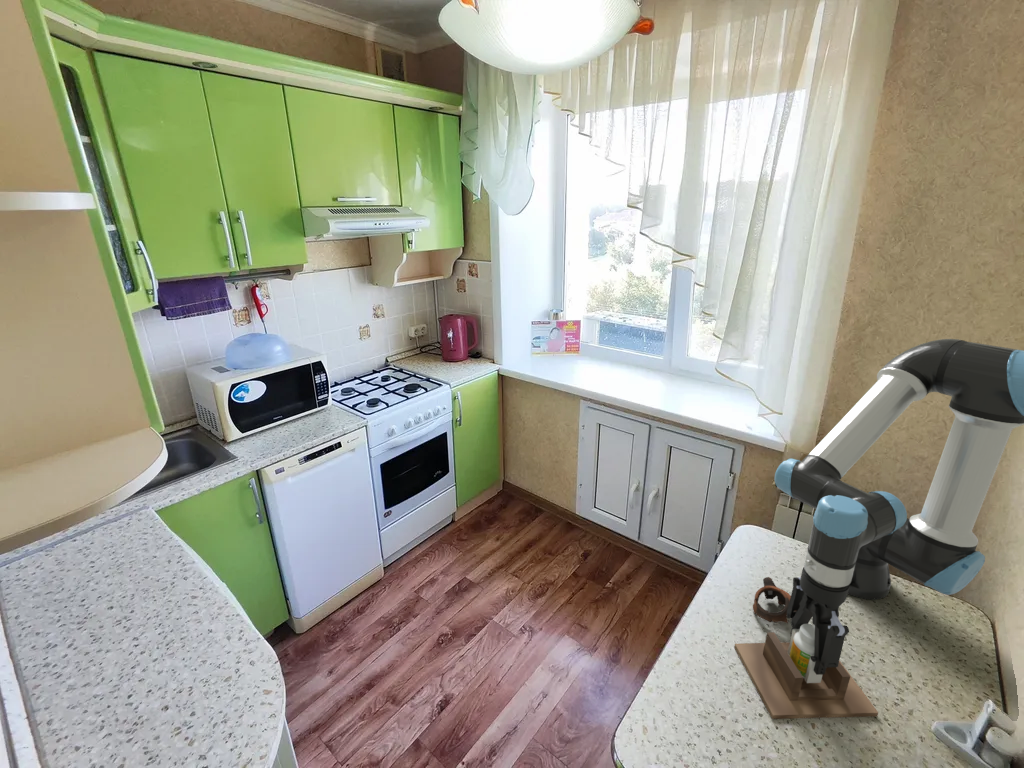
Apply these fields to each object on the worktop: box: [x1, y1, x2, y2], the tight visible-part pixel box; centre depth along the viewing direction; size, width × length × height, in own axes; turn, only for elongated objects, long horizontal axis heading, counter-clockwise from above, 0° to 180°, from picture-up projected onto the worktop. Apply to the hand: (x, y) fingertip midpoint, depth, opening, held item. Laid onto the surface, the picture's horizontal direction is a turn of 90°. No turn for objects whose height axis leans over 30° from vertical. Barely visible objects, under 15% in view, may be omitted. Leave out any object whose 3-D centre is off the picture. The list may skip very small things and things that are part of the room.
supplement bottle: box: [789, 623, 815, 679], centre depth 96 cm, size 5×5×10 cm
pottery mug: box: [752, 576, 796, 624], centre depth 114 cm, size 12×10×8 cm
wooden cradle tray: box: [733, 631, 879, 720], centre depth 97 cm, size 20×16×7 cm
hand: (803, 667), depth 97 cm, fingers closed on supplement bottle, 5 cm apart
